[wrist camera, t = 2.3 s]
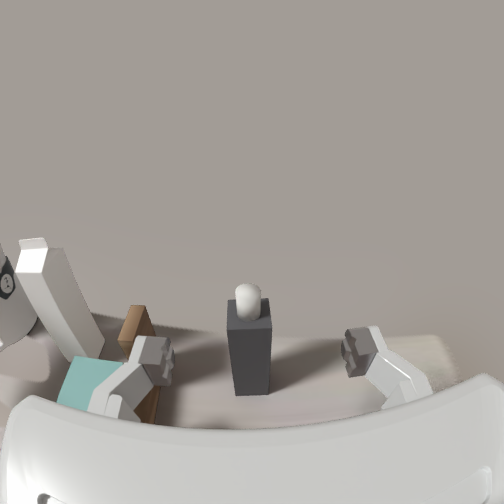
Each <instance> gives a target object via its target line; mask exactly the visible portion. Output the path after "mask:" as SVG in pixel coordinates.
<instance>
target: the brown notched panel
mask: <svg viewBox="0 0 504 504" xmlns="http://www.w3.org/2000/svg"><path fill="white" fill-rule="evenodd" d="M138 335H139V336H153V337H156V334H155V331H154V329H153V326H152V323H151V321H150V318H149V315H148V312H147V310H146V307H145V306H142V305H131V307H130V309H129V312H128V315H127V317H126V319H125V322H124V324H123V327H122V329H121V332H120V334H119V337H118V340H117V341H118V342H119V344H120V346H121V348H122V350H123V352H124V354H125V355H126V357H127V359H128V361H129V357H130V354H131V351H132V348H133V345H134V342H135V339H136V337H137V336H138ZM153 386H154V387H153V388H152V389H151V390H150V391H149V392H148V394H147V395H146V396H145V397H144V398H143V400H142V401H141V402H140V403H139V404H138V405H137V407H136V408H135V409H134V410H133V411H134V413H135V414H136V415H137V416H138V417H139V418H140V420H141V421H140V423H147V424H154V421H155V415H156V409H157V403H158V397H159V392H160V386H157V385H153Z"/></svg>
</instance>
